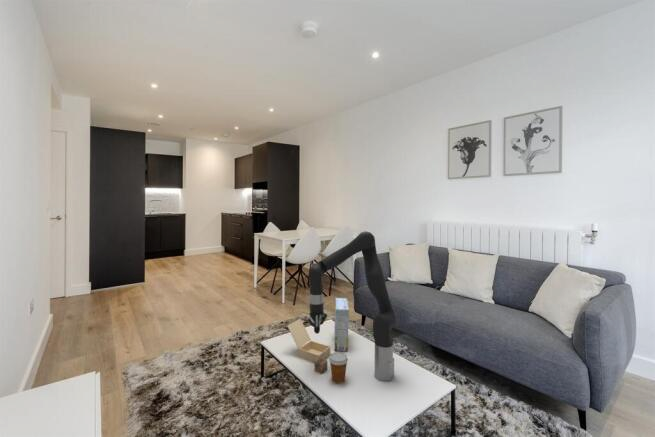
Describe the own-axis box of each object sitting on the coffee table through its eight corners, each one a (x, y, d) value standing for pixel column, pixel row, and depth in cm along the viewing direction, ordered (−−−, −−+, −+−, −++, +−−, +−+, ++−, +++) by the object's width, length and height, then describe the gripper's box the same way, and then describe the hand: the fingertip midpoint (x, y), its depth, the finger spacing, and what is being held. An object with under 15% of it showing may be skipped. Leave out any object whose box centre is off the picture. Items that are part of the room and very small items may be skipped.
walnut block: (327, 369, 162) (327, 360, 162) (322, 374, 158) (322, 364, 158) (319, 366, 165) (319, 357, 164) (314, 371, 161) (314, 362, 160)
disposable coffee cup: (332, 386, 147) (332, 362, 146) (326, 375, 156) (326, 353, 156) (350, 383, 150) (350, 359, 149) (344, 372, 159) (344, 350, 158)
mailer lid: (300, 318, 188) (299, 318, 188) (287, 325, 178) (287, 325, 178) (310, 339, 184) (310, 339, 184) (298, 347, 174) (298, 348, 174)
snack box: (349, 351, 180) (349, 309, 179) (334, 351, 181) (334, 309, 179) (347, 335, 202) (347, 297, 200) (334, 335, 202) (334, 297, 201)
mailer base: (330, 354, 177) (330, 346, 177) (318, 364, 167) (318, 355, 166) (311, 348, 184) (311, 340, 184) (298, 357, 174) (298, 348, 174)
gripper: (322, 297, 170) (323, 327, 171) (302, 302, 163) (302, 333, 164) (330, 300, 164) (330, 332, 165) (309, 306, 157) (310, 338, 158)
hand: (316, 332), depth 165 cm, fingers closed
